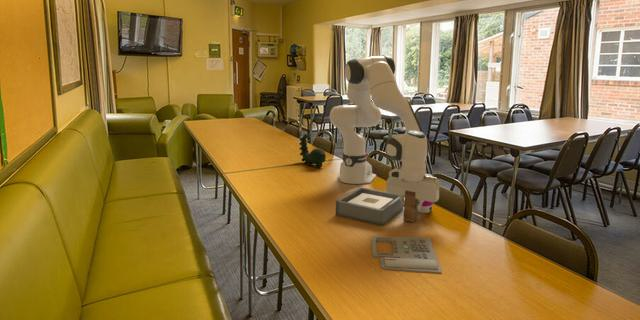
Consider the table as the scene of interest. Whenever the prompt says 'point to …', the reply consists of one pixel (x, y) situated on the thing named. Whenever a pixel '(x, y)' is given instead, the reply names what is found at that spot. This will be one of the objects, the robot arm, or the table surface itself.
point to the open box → (369, 206)
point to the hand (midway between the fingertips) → (410, 208)
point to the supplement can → (425, 203)
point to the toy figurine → (311, 153)
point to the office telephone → (408, 254)
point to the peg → (410, 206)
